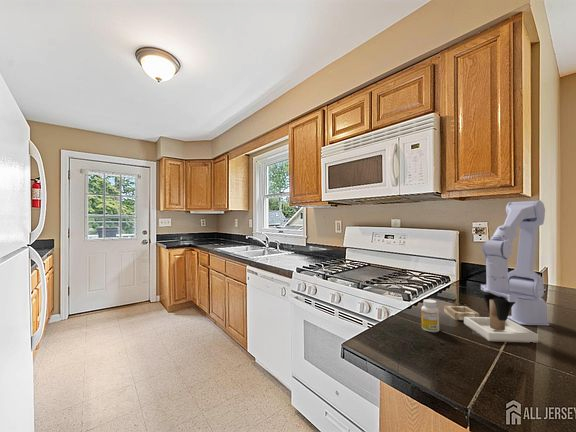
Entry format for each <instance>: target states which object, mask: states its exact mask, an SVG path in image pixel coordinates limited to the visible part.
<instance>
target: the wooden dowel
mask: <svg viewBox="0 0 576 432" xmlns="http://www.w3.org/2000/svg"><path fill="white" fill-rule="evenodd" d="M489 303H490V315H489V317H490V327H491V328H492V329H495V330H505V321H503V320H498V316H497V309H496V305H495V303H494V300H493V299H490V300H489Z"/></svg>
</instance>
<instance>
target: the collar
mask: <svg viewBox="0 0 576 432" xmlns="http://www.w3.org/2000/svg"><path fill="white" fill-rule="evenodd" d="M443 313H445V314H446V315H448V316H449V317H450V318H452V319H453V320H455V321H464V317H480V313H479V312H477V311H475V310H474V309H471V308H470V307H468V306H465V305H462V306H461V305H443Z"/></svg>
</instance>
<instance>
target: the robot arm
mask: <svg viewBox="0 0 576 432" xmlns="http://www.w3.org/2000/svg"><path fill="white" fill-rule="evenodd" d="M505 213H506V218H505V220H504V223H503V224H502V225H499V226H498V227H497V228H496V229H495V231H494V232H493V234H492V236H491V238H490V239H488V240H486V241H484V242H483V244H482V248H481V252H482V255H483V260H484V262H485V264H486V265H485V271H486V272H485V273H486V274H485V275H486V276H485V277H486V283H485V284H480V291H482V292H481V294H480V296H481V297H482V298H483V300H484V302H485V304H486V308H487V311H488V315H489V316H490V303H489V300H490V299H493V300H494V303H495V305H496V309H497V316H498V320H503V321H506V320H507V319H509V320H511V321H513V322H515V323H517V324H519V325H521V326H550V323H549V322H548V305H547V302H546V301H545V300H544V299H543V298H542V297H543V296H544V293H545V287H544V286H545V285H544V279H543V277H542V276H541V275H540V274H539V273H537V272H536V271H535V270H534V269H535V260H536V250H537V249H536V248H537V247H536V246H537V237H538V236H537V235H538V229H539V227H540V226H542V225H544V221H545V216H546V207H545V204H544V202H543V201H542V200H539V199H537V200H529V201H528V200H527V201H509V202H508V203H507V204H506V206H505ZM518 227H519V237H518V247H517V256H516V268H515V269H513V270H511V271H509V268H508V267H509V264H508V263H509V262H508V261H509V260H508V259H509V258H510V257H511V255H512V250H513V243H514V241H515V239H516V238H517V236H518V232H517V229H518ZM510 311H511V315H509V314H510Z"/></svg>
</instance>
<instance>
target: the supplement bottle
mask: <svg viewBox="0 0 576 432" xmlns="http://www.w3.org/2000/svg"><path fill="white" fill-rule="evenodd" d="M420 310H421V313H420V314H421V318H420V320H421V329H422V330H423V331H426V332H429V333H438V332H439V331H440V310H439V308H438V304H437V300H434V299H430V298H429V299H428V298H427V299H423V305H422V306H421V309H420Z"/></svg>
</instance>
